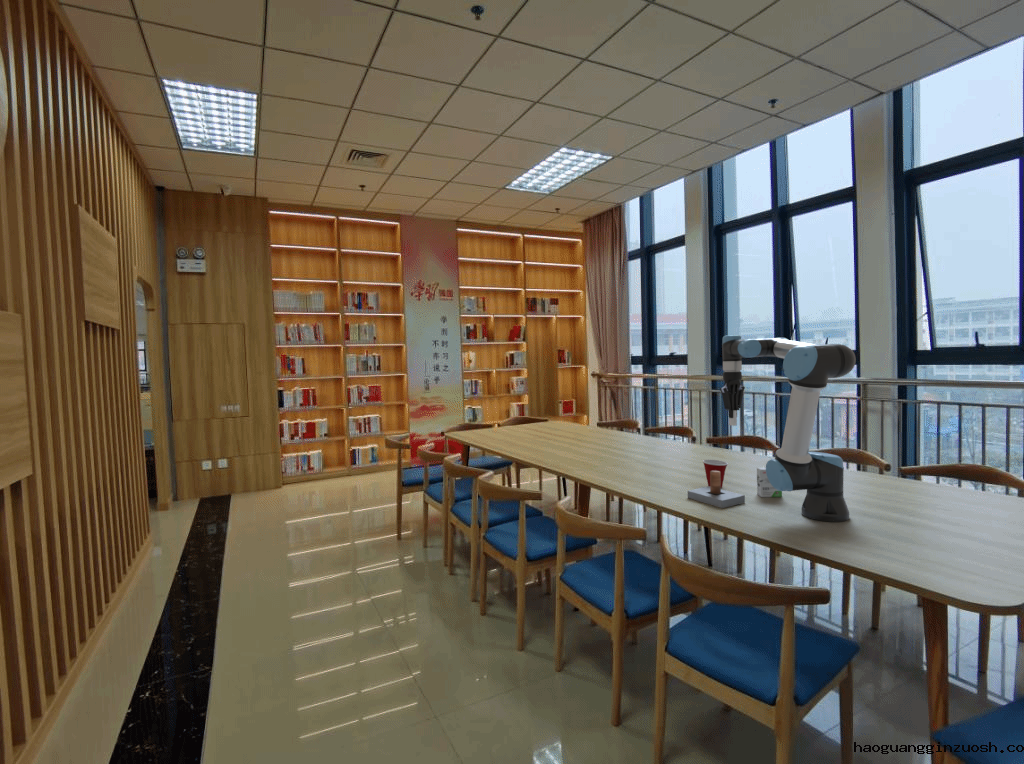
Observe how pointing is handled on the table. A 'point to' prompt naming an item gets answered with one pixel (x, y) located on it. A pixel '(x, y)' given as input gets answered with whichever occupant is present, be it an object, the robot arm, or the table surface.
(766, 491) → the ink box
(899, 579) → the table surface
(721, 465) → the plastic cup
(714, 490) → the peg
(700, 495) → the board
